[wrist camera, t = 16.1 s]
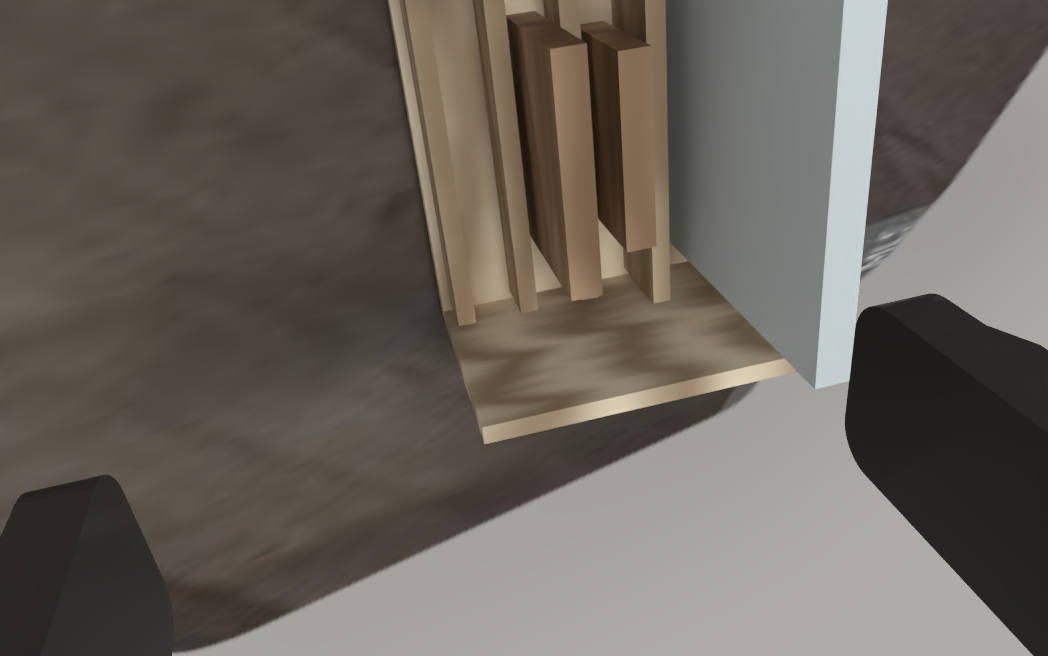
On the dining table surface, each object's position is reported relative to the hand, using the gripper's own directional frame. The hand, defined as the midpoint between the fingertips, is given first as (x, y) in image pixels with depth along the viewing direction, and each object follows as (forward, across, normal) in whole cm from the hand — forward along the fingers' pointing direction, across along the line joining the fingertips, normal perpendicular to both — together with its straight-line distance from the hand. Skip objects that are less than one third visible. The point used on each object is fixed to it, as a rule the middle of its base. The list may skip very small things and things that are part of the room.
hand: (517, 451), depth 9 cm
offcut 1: (+37, -8, +8) cm, 38 cm away
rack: (+38, -11, +8) cm, 40 cm away
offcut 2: (+37, -12, +8) cm, 39 cm away
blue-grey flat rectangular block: (+37, -16, +7) cm, 41 cm away
